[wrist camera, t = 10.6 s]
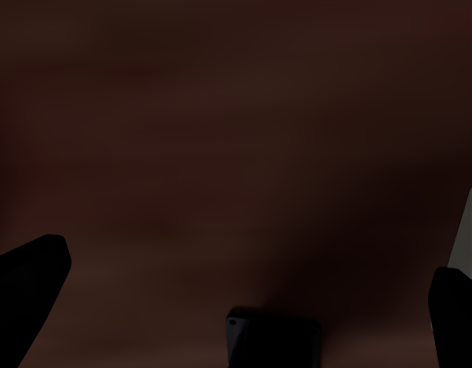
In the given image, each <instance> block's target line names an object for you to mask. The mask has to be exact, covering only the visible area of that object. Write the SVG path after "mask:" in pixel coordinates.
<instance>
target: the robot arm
mask: <svg viewBox="0 0 472 368" xmlns="http://www.w3.org/2000/svg"><path fill="white" fill-rule="evenodd" d="M70 268H71V257H70V254H69V251H68V247H67V244H66V241H65V239H64V237H63V236H61V235H53V234H46V235H44V236H41V237H39V238H37V239H35V240H33V241H31V242H28V243H26V244H24V245H22V246H20V247H18V248H15V249H13V250H11V251H9V252H7V253H5V254H3V255H0V368H18V366H19V365H20V363H21V361H22V360H23V358H24V356H25V355H26V353H27V351H28V350H29V348H30V346H31V345H32V343H33V341H34V340H35V338H36V336H37V335H38V333H39V331H40V330H41V328H42V326H43V324H44V323H45V321H46V319H47V317H48V315H49V313H50V311H51V309H52V307H53V305H54V303H55V301H56V298H57V296H58V294H59V292H60V290H61V288H62V286H63V284H64V282H65V279H66V277H67V275H68V273H69V271H70ZM428 306H429V311H430V317H431V323H432V328H433V334H434V340H435V345H436V351H437V357H438V362H439V367H440V368H472V279H470V278H469V277H468V276H467V275H466V274H464V273H463V272H462V271H461V270H459V269H457V268H449V267H438V268H437V269H436V270H435V273H434V276H433V280H432V283H431V287H430V291H429V294H428ZM234 320H235V321H234ZM312 329H315V330H312ZM226 332H227V347H228V362H229V366H228V368H317V366H318V356H319V347H320V337H321V326H320V325H319V324H318V323H316V322H310V321H301V320H292V319H283V318H274V317H266V316H257V315H248V314H239V313H230V314H228V315H227V319H226Z"/></svg>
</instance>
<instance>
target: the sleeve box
mask: <svg viewBox="0 0 472 368" xmlns="http://www.w3.org/2000/svg"><path fill="white" fill-rule="evenodd" d="M447 267H449V268H457V269H459V270H461V271H462V272H463V273H464V274H466V275H467V276H468V277H469V278H470V279H472V188H470V192H469V195H468V199H467V202H466V205H465V209H464V212H463V215H462V219H461V222H460V226H459V229H458V232H457V236H456V239H455V242H454V246H453V249H452V253H451V256H450V259H449V263H448V266H447ZM430 325H431V328H432V323H430ZM432 331H433V328H432Z"/></svg>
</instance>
